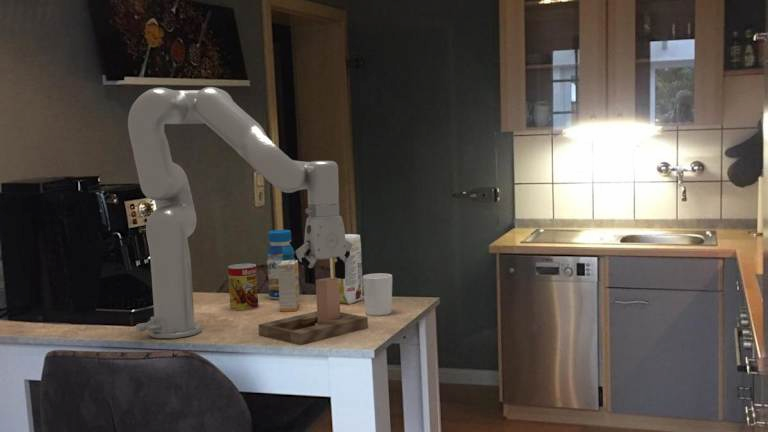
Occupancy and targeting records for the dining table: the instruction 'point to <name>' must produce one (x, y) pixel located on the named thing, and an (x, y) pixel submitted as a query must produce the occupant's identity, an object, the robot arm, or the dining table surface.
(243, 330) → the dining table surface
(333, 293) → the footed peg
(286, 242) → the beverage bottle
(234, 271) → the canned food
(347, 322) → the keyhole plate
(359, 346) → the dining table surface
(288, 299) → the supplement box
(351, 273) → the juice carton
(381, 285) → the white cup
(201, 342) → the dining table surface
